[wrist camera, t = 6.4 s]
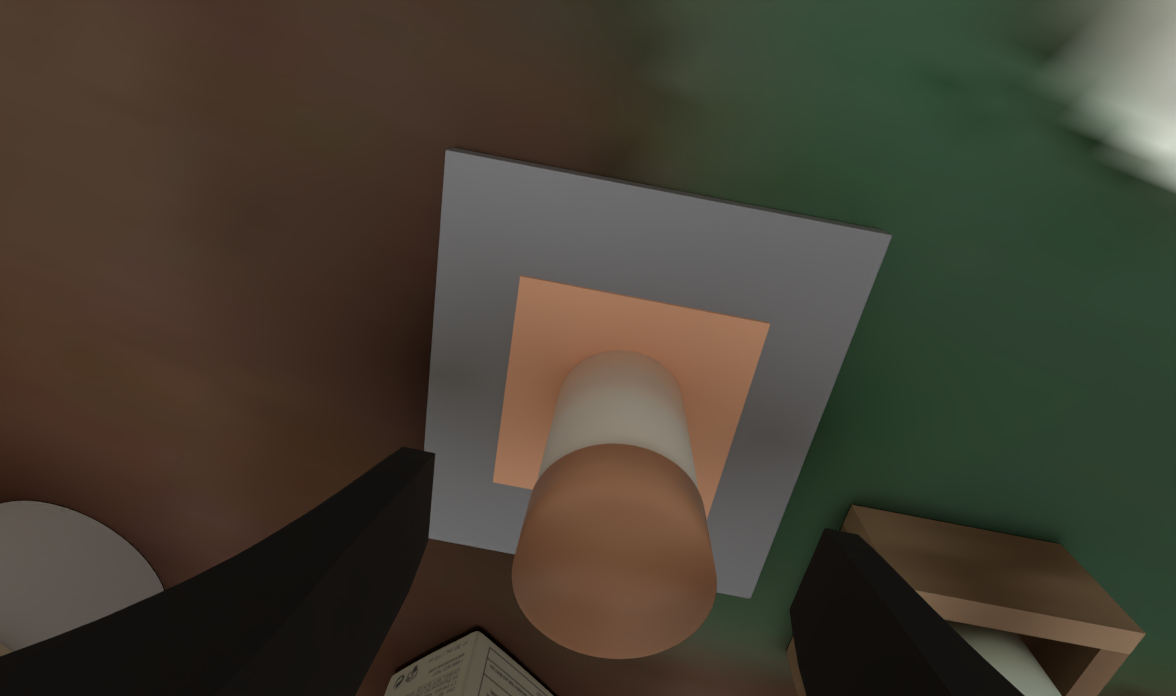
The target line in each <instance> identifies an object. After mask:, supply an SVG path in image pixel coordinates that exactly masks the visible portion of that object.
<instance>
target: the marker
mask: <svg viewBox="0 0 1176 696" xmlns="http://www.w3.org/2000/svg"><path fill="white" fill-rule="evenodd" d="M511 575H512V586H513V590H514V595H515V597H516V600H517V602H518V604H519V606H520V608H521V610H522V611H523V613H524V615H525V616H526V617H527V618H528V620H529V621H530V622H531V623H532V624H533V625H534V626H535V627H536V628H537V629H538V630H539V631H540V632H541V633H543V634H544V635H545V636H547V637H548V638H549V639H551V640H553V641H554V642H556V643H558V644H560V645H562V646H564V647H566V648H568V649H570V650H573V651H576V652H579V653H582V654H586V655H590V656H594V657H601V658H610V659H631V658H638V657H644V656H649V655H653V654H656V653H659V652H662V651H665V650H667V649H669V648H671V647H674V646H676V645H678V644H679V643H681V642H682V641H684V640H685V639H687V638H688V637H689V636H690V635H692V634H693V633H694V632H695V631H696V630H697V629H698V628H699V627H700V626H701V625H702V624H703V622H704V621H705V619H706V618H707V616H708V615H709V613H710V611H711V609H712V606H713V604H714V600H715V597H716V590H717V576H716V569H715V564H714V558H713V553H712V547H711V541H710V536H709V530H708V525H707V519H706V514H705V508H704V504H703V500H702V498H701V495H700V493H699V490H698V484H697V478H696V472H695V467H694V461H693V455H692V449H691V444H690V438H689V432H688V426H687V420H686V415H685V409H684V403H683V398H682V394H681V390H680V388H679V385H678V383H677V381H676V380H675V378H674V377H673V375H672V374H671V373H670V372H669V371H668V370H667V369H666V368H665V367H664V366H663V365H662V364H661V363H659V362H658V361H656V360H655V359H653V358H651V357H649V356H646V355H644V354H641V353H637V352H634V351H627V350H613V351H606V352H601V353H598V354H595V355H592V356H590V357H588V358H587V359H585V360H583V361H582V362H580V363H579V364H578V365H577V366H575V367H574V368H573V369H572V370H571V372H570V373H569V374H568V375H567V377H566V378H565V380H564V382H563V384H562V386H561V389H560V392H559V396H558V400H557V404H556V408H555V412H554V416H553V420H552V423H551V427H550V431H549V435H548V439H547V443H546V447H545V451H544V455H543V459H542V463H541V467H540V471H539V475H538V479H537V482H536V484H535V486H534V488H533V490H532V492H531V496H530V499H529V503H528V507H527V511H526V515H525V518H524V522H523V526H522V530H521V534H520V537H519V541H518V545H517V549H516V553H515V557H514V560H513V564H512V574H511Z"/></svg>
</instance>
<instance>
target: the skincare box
mask: <svg viewBox="0 0 1176 696" xmlns="http://www.w3.org/2000/svg"><path fill="white" fill-rule="evenodd" d="M384 696H553V695H552V694H551V693H550V692H549V691H548V690H547V689H545V688H544V687H543V686H542V685H541V684H540V683H539V682H538V681H537V680H535V679H534V678H533V677H532V676H531V675H530V674H529V673H528V672H527V671H525V670H524V669H523V668H522V667H521V666H520V665H519V664H518V663H516V662H515V661H514V660H513V659H512V658H511V657H509V656H508V655H507V654H506V653H505V652H504V651H502V650H501V649H500V648H499V647H498V646H496V645H495V644H494V643H493V642H492V641H491V640H489V639H488V638H487V637H486V636H485V635H484V634H482V633H481V632H479V631H475V632H473V633H471V634H469V635H467V636H465V637H463V638H461V639H459V640H457V641H455V642H453V643H451V644H449V645H447V646H445V647H443V648H441V649H439V650H437V651H435V652H433V653H431V654H430V655H427V656H426V657H424V658H422V659H420V660H418V661H417V662H415V663H413V664H411V665H409V666H407V667H406V668H404V669H403V670H401V671H399V672H398V673H396V674H394V675H393V676H392V677H391V679H390V682H389V684H388V687H387V690H386V692H385V695H384Z"/></svg>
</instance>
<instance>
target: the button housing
mask: <svg viewBox="0 0 1176 696" xmlns="http://www.w3.org/2000/svg"><path fill="white" fill-rule="evenodd" d="M840 531H843V532H848V533H853V534H858V535H859V536H860V537H861V538H863V539H864V540H865V541H866V542H867V543H868V544H869V545H870V546H871V547H872V548H873V549H874V550H875V551H876V552H877V553H878V554H879V555H881V556H882V557H883V558H884V559H885V560H886V561H887V562H888V563H889V564H890V565H891V566H892V567H893V568H894V570H895V571H896V572H897V573H898V574H899V575H900V576H901V577H902V578H903V579H904V580H905V581H906V582H907V583H908V584H909V585H910V586H911V587H912V588H913V589H914V590H915V591H916V592H917V593H918V594H919V595H920V596H921V597H922V598H923V599H924V600H925V601H926V602H927V603H928V604H929V605H930V606H931V607H932V608H933V609H934V610H935V611H936V612H937V613H938V614H939V615H940V616H941V617H942V618H943V619H945V620H950V621H955V622H961V623H966V624H971V625H977V626H982V627H987V628H992V629H998V630H1003V631H1008V632H1014V633H1018V635H1019V636H1020V638H1021V639H1022V641H1023V642H1024V643H1025V645H1026V646H1027V648H1028V649H1029V650H1030V652H1031V653H1032V655H1033V656H1034V657H1035V659H1036V660H1037V662H1038V663H1039V664H1040V666H1041V667H1042V669H1043V670H1044V671H1045V673H1046V674H1047V676H1048V677H1049V678H1050V680H1051V681H1052V683H1053V684H1054V685H1055V687H1056V688H1057V690H1058V691H1059V692H1060V694H1061V695H1062V696H1097V695H1098V694H1099V693H1100V691H1101V690H1102V689H1103V688H1104V686H1105V685H1106V684H1107V683H1108V681H1109V680H1110V679H1111V677H1112V676H1113V675H1114V674H1115V672H1116V671H1117V670H1118V669H1119V667H1120V666H1121V665H1122V664H1123V662H1124V661H1125V660H1126V658H1127V657H1128V656H1129V655H1130V653H1131V652H1132V651H1133V650H1134V648H1135V647H1136V646H1137V644H1138V643H1139V642H1140V641H1141V639H1142V638H1143V637H1144V636H1145V634H1146V633H1145V632H1144V631H1143V630H1142V629H1141V628H1140V627H1139V626H1138V625H1137V624H1136V623H1135V622H1134V621H1133V620H1132V619H1131V618H1130V617H1129V616H1128V614H1127V613H1126V612H1125V611H1124V610H1123V609H1122V608H1121V607H1120V606H1119V605H1118V604H1117V603H1116V602H1115V601H1114V600H1113V599H1112V598H1111V597H1110V596H1109V594H1108V593H1107V592H1106V591H1105V590H1104V589H1103V588H1102V587H1101V586H1100V585H1099V584H1098V583H1097V582H1096V581H1095V580H1094V579H1093V578H1092V577H1091V576H1090V574H1089V573H1088V572H1087V571H1086V570H1085V569H1084V568H1083V567H1082V566H1081V565H1080V564H1079V563H1078V562H1077V561H1076V560H1075V559H1074V558H1073V557H1072V556H1071V554H1070V553H1069V552H1068V551H1067V550H1066V549H1065V548H1064V547H1063V546H1062V545H1061V544H1057V543H1052V542H1047V541H1041V540H1036V539H1031V538H1025V537H1020V536H1015V535H1010V534H1004V533H999V532H994V531H988V530H983V529H978V528H973V527H967V526H962V525H957V524H952V523H946V522H941V521H936V520H930V519H925V518H920V517H915V516H909V515H904V514H899V513H893V512H888V511H883V510H878V509H872V508H867V507H862V506H857V505H851V507H850V510H849V512H848V514H847V516H846V519H845V521H844V523H843V525H842V528H841V530H840ZM786 654H787V658H788V661H789V665H790V669H791V672H792V676H793V680H794V683H795V687H796V691H797V694H798V696H806V692H805V689H804V685H803V682H802V678H801V674H800V671H799V667H798V661H797V655H796V650H795V644H794V637H792V640H791V642H790V644H789V646H788V649H787V651H786Z"/></svg>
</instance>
